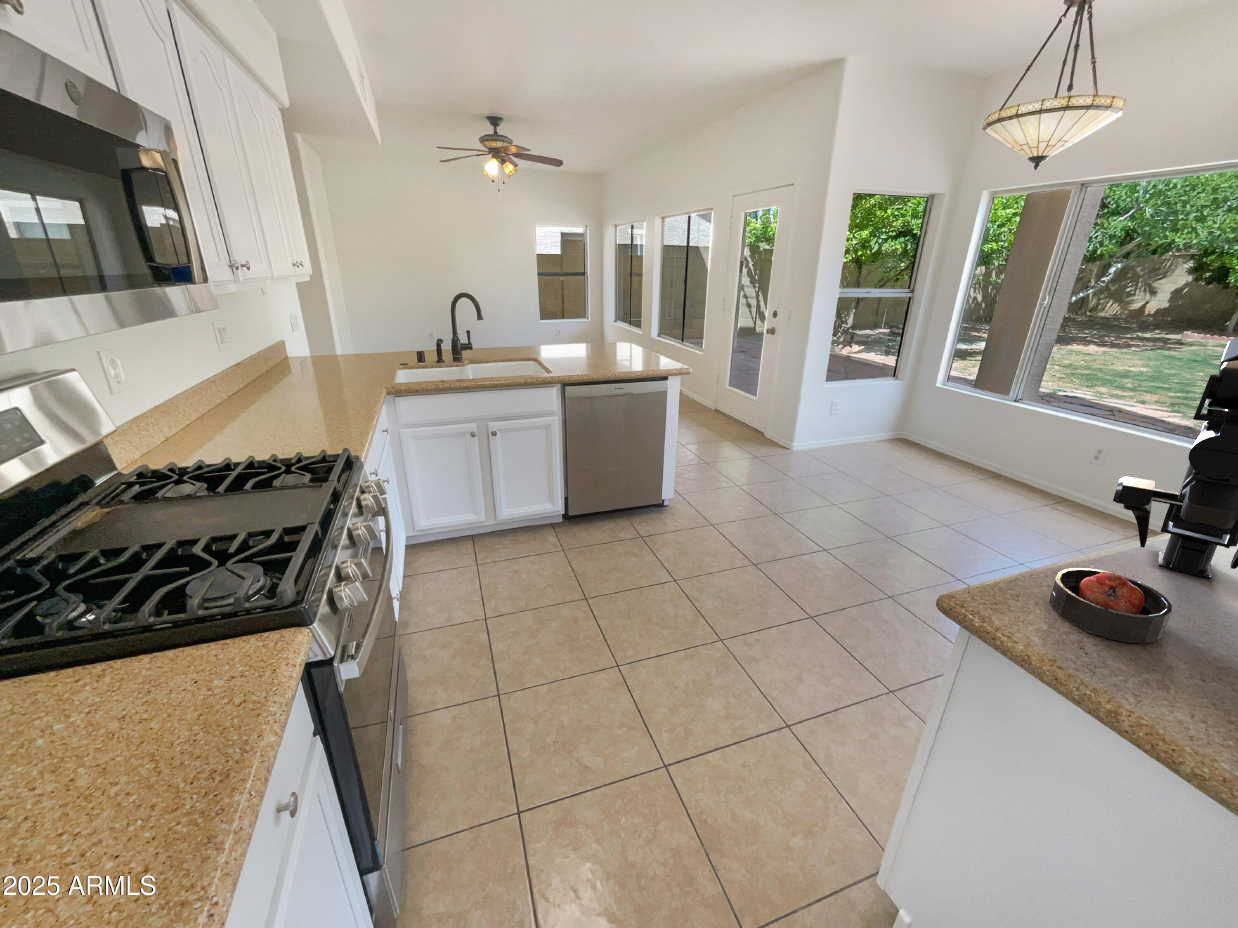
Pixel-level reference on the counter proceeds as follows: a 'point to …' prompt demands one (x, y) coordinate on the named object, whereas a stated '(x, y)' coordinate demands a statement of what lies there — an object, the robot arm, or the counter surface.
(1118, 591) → the tomato
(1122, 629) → the dark shallow dish
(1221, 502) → the robot arm
